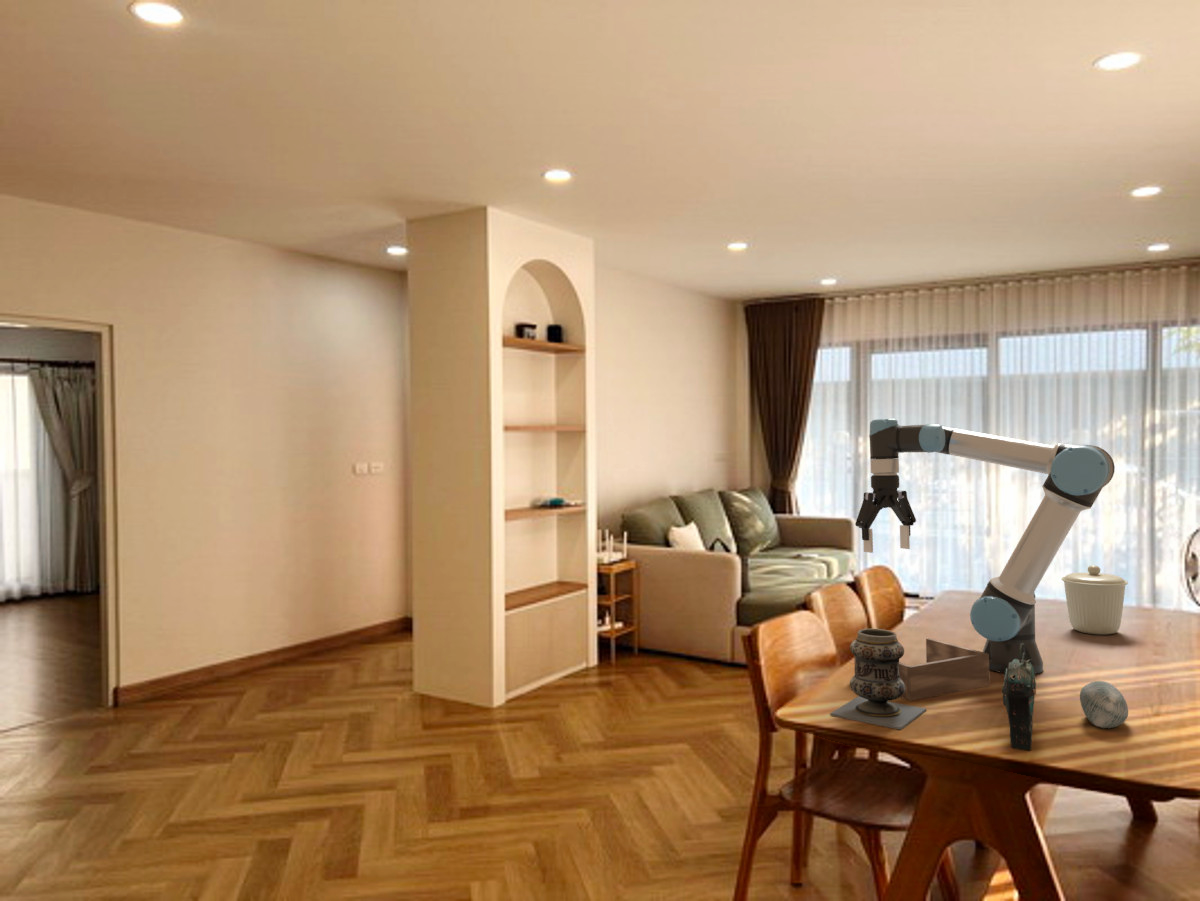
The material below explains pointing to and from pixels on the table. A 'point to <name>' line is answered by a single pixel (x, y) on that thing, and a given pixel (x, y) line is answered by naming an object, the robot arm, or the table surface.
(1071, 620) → the canister
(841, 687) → the table surface
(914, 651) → the table surface
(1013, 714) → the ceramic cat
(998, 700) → the table surface
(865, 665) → the apothecary jar
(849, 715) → the rubber mat
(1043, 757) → the table surface
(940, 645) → the walnut u-shaped frame
